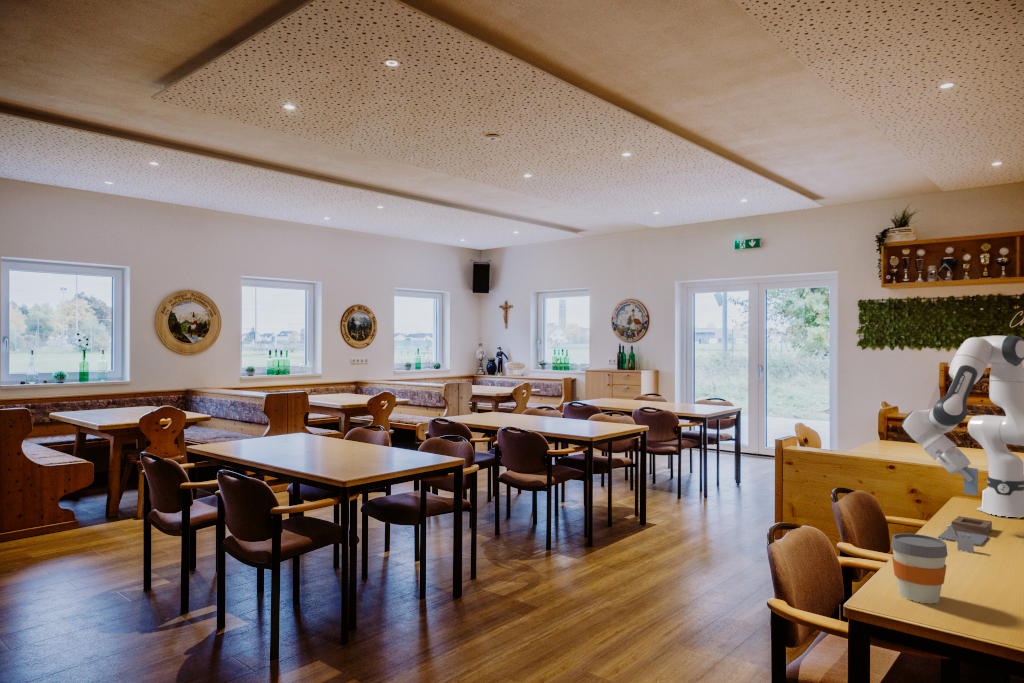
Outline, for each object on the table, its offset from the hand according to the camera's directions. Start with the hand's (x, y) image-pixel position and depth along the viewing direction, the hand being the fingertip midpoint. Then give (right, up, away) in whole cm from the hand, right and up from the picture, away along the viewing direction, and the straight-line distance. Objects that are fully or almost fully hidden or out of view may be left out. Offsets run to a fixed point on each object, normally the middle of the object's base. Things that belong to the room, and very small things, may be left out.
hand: (973, 479), depth 230 cm
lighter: (-21, -18, -23) cm, 36 cm away
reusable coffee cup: (-60, -18, -63) cm, 88 cm away
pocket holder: (0, -18, +1) cm, 18 cm away
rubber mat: (-10, -18, -10) cm, 23 cm away
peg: (-1, -5, 0) cm, 5 cm away
